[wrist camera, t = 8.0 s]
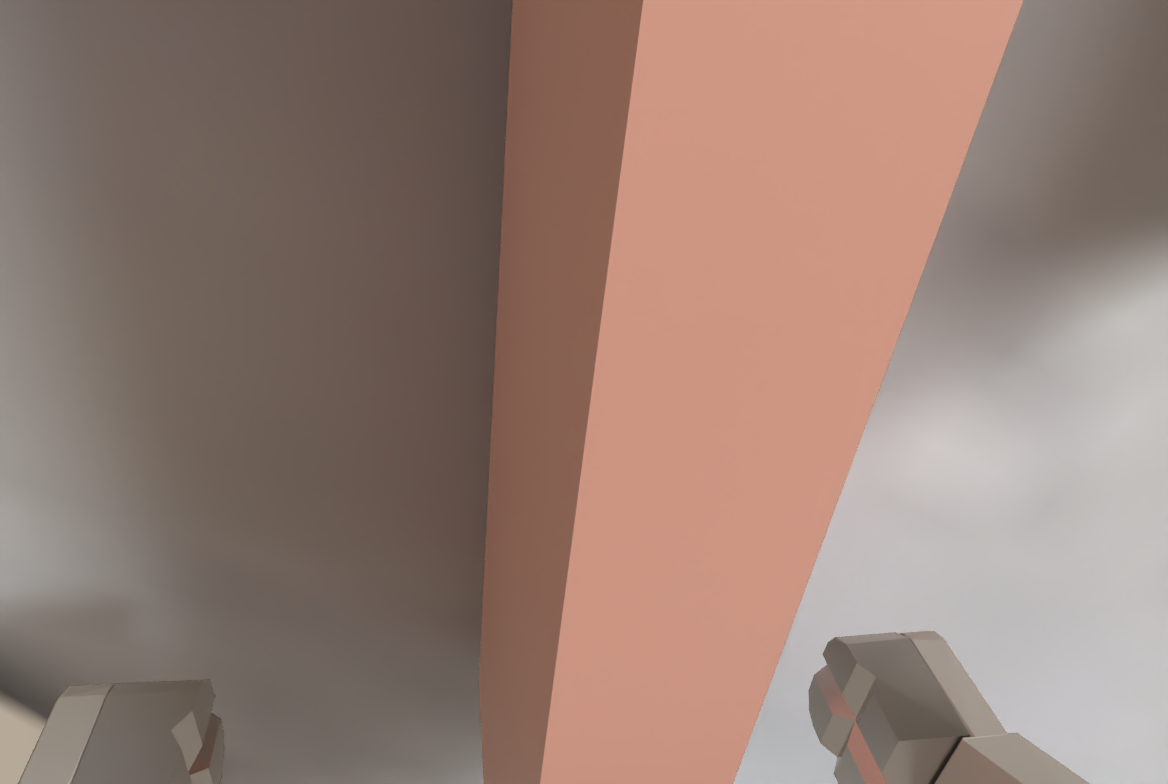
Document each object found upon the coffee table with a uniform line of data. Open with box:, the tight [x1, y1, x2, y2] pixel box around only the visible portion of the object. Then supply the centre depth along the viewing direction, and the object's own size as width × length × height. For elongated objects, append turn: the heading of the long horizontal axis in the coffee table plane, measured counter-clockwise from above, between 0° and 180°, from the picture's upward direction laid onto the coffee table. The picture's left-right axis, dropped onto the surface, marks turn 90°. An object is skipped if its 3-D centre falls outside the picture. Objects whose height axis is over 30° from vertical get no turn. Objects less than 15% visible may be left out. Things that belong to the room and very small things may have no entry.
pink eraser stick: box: [479, 0, 1023, 784], centre depth 7 cm, size 14×1×5 cm, turn 174°
